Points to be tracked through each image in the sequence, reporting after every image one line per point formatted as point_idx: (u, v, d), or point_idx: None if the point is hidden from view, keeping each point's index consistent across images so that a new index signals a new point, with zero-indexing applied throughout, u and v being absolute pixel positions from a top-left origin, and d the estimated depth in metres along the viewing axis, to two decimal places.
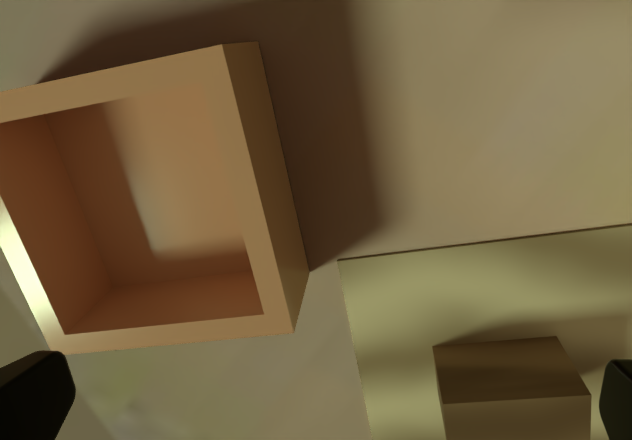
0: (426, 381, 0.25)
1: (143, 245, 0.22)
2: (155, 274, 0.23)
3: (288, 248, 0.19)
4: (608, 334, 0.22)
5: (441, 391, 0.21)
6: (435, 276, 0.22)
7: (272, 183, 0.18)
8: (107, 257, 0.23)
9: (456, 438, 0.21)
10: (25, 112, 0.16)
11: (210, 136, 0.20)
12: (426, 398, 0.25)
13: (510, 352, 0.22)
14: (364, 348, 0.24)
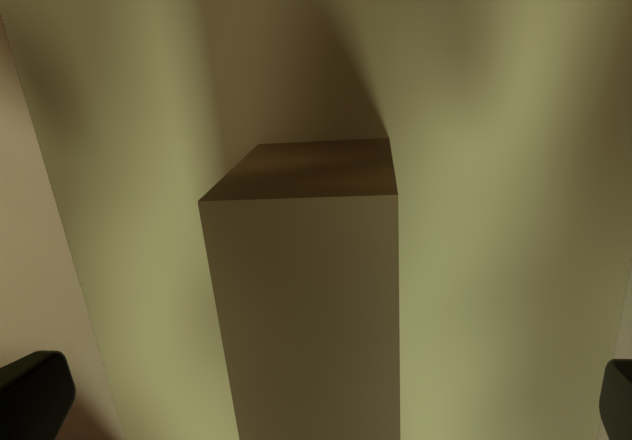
0: None
1: None
2: None
3: None
4: (253, 33, 0.10)
5: None
6: (141, 338, 0.13)
7: None
8: None
9: None
10: None
11: None
12: (407, 377, 0.13)
13: None
14: None
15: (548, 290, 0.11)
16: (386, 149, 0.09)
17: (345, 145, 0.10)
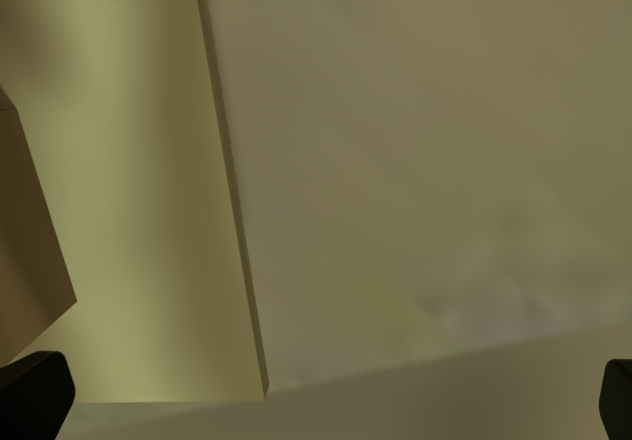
0: None
1: None
2: None
3: None
4: None
5: None
6: None
7: None
8: None
9: None
10: None
11: None
12: (94, 318, 0.15)
13: None
14: None
15: (177, 234, 0.13)
16: None
17: None
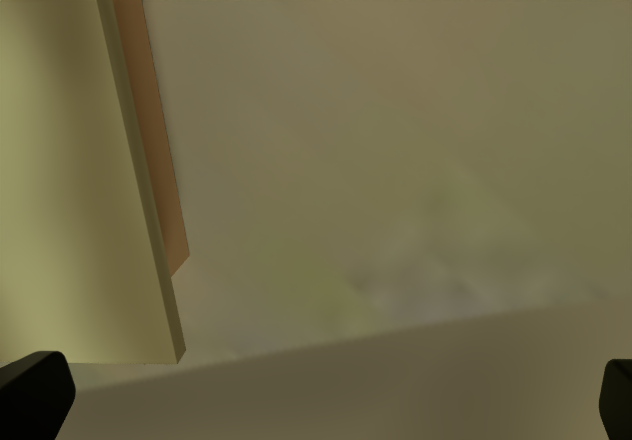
0: None
1: None
2: None
3: None
4: None
5: None
6: None
7: None
8: None
9: None
10: None
11: None
12: (14, 279, 0.15)
13: None
14: None
15: (86, 200, 0.14)
16: None
17: None
